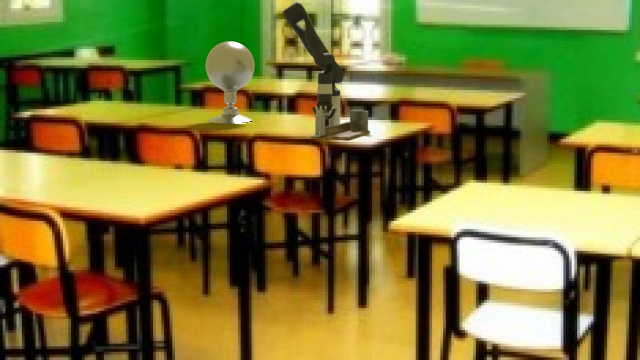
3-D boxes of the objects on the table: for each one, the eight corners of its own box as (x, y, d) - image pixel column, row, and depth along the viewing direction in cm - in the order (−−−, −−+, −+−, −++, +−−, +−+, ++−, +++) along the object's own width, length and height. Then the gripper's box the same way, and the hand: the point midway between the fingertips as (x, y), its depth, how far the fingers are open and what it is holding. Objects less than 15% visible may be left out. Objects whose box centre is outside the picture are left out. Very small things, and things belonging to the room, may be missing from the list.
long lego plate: (329, 131, 529) (329, 106, 527) (337, 131, 527) (337, 106, 525) (310, 137, 506) (310, 110, 504) (319, 137, 505) (319, 111, 502)
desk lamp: (203, 123, 564) (202, 42, 557) (209, 117, 592) (208, 40, 584) (252, 123, 564) (252, 42, 556) (256, 118, 591) (256, 40, 583)
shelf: (325, 138, 501) (325, 115, 499) (348, 132, 529) (348, 110, 527) (348, 140, 496) (348, 116, 494) (369, 133, 524) (370, 111, 523)
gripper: (309, 92, 513) (309, 126, 516) (334, 93, 508) (334, 127, 510) (315, 91, 520) (315, 125, 522) (339, 92, 514) (339, 126, 517)
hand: (324, 126), depth 516 cm, fingers closed on long lego plate
